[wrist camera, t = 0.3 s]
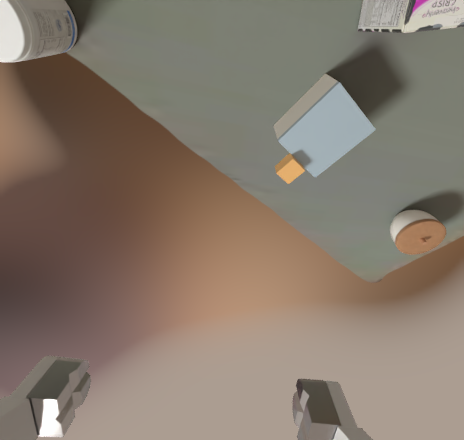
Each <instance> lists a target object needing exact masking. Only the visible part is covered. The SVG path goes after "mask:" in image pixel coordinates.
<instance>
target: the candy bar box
mask: <svg viewBox="0 0 464 440" xmlns="http://www.w3.org/2000/svg"><path fill="white" fill-rule="evenodd" d="M455 27H464V0H363V1H362V8H361V15H360V20H359V26H358V31H370V32H401V33H408V32H418V31H428V30H438V29H447V28H455Z"/></svg>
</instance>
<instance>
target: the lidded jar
mask: <svg viewBox="0 0 464 440" xmlns="http://www.w3.org/2000/svg"><path fill="white" fill-rule="evenodd" d="M390 234H391V237H392V239H393V241H394V243H395V244H396V246H397V248H398V249H399V250H400V251H401V252H403V253H406V254H420V253H424V252H427V251H429V250H431V249H433V248H435V247H436V246H438V245H439V244H440V243H441V242H442V241H443V239H444V238H445V235H446V228H445V226H444V225H443V224H442V223H441V222H439V221H438V220H437V219H436V218H435V217H434V216H432V215H431V214H429V213H427V212H424V211H421V210H406V211H403V212H400V213H399V214H397V215H396V216H395V217H394V219H393V221H392V223H391V226H390Z"/></svg>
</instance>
